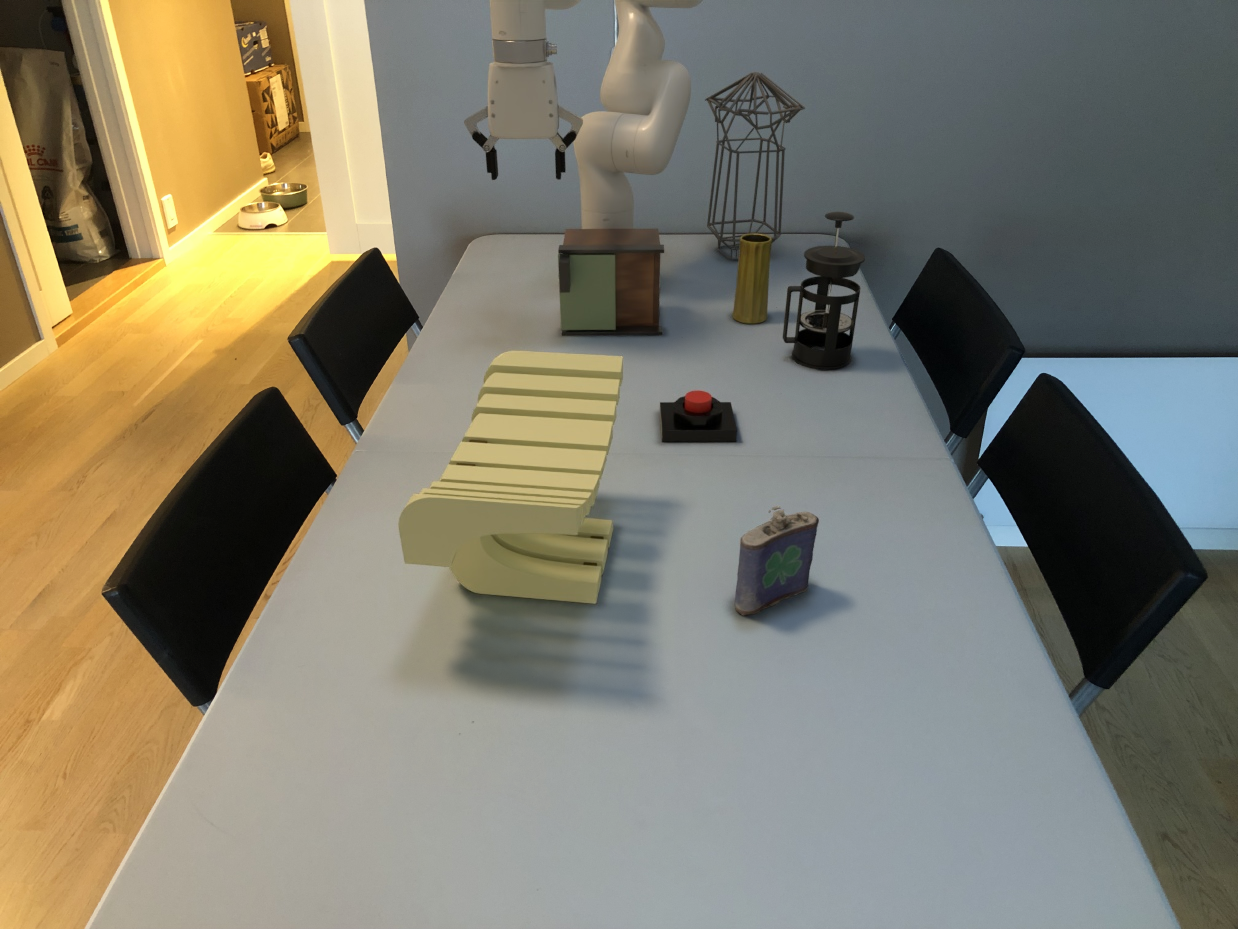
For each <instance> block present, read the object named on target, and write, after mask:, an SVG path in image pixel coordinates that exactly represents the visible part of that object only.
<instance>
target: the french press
mask: <svg viewBox="0 0 1238 929" xmlns="http://www.w3.org/2000/svg"><path fill="white" fill-rule="evenodd" d="M824 217H825V218H826V219H827V220H830V221H835V222H834V224H835V225H834V228H835V229H836V231H835V239H834V245H819V246H818V245H817V246H813V247H809V248H807V249H806V250H805V251H804V252H803V257H804V259H806V261H805V269H806V271H807V272H809V273H810V274H813V275H816V276H812V277H808V278H805V279H803V280H802V281H801V282H800V285H789V286H788V287H787V290H786V299H785V309H784V319H783V329H782V340H783V342H784V343H785V344H793V349H792V350H791V358H792V360H793V361H794V362H795V363H796V364H798V365H800V366H802V367H805V368H809V369H812V370H817V371H836V370H840V369H844V368H847V367H848V366H849V365H850V364H851V363H852V359H853V357H852V348H853V342H854V336H855V328H856V322H857V316H858V308H859V302H860V296H861V295H860V294H861V289H862V288H861V285H860V284H858V283H857V282H855V281H853V280H852V279H848V278H851V277H854V276H856V275H857V274H858V272H859V270H860V269H861V265H862V264H863V263H864V262H865V260H866V255H865V254H864V253H863V252H861V251H860V250H857V249H855V248H852V247H847V246H841V245H838V241H839V232H840V229H842V226H843V225H842V224H843V222H849V221H852V220H854V219H855V216H854V215H853V214H851V213H849V212H844V211H830V212H827V213H826V214H825V215H824ZM813 286H817V288H816V293H814V292H811V291H809V290H807V289H806V288H808V287H813ZM832 286H838V287H843V288H845V289H846V288H847V289H849V290H851V291H853V292H854V293H852V294H846V295H840V296H839V295H835V296H834V295H833V296H832ZM793 292H794V293H799V295H798V306H797V314H796V324H795V332H794V336H788V328H789V322H790V321H789V319H790V312H791V300H792V293H793ZM804 299H805V300H807V301H808V302H812V303H815V304H814V305H815V306H814V310H809V311H806V312H803V300H804ZM848 304H849V305H850V304H853V306H852V313H851V317H850V316H849V315H847V314H845V313H843V312H842V306H845V305H848ZM802 312H803V313H802ZM801 327H802V328H803V329H801ZM848 331H849V334H848V333H847V332H848ZM821 348H823V349H821Z"/></svg>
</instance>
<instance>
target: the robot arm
mask: <svg viewBox="0 0 1238 929" xmlns="http://www.w3.org/2000/svg"><path fill="white" fill-rule="evenodd" d="M580 2H581V0H489V13H490V24H491V26H490V28H491V40H492V54H493V55H492V56H493V62H490V63H489V66H488V76H487V77H488V78H487V105H486V106H485V107H483V108H481V109H479V110H477V111H476V112H475V113H473V114H471V115H469V116H468V117H465V119H464V120H463V124H464V126H465V127H466V129H467V131H468V132H469V134H470V136H471V138H472V140H473V141H474V142H475V143H476V144H477V145H478V146H479V147H481V149H482V150H483V152H484V153H485V162H486V164H485V165H486V173H487V174H490V176H491V181H496V180H497V179H498V177H499V164H498V163H499V162H498V151H497V149H496V147H495V146H496V144H497V142H498V141H499V139H501V140H546V139H549V141H551V143H552V144H553V145H554V146H555V150H554V164H555V165H554V166H555V167H554V168H555V179H556V180H558V181H560V180H561V179H562V173H566V171H567V170H566V151H567V149H568V148H569V147H570V146H571V145H572V143H573V149H574V155H575V159H576V164H577V170H578V176H579V189H580V214H581V216H580V217H581V229H634V207H635V206H634V202H635V201H634V192H633V189H632V186H631V183H630V180H629V179H628V177H627V175H626V173H627V174H635V175H647V176H648V175H649V176H654V175H655V176H656V175H659V174H661V173H662V172H664V171H665V170H666V168H667V167H668V165H669V163H670V161H671V159H672V157H673V153H674V151H675V148H676V145H677V142H678V139H679V136H680V133H681V130H682V127H683V124H684V122H685V120H686V115H687V113H688V110H689V106H690V102H691V95H692V80H691V75H690V73H689V71H688V69H687V67H686V66H685V65H684V64H682V63H681V62H680V61H679V62H678V61H677V60H670V59H662V58H663V54H664V51H665V47H666V41H665V40H666V39H665V37H664V34H663V31H662V29H661V27H660V26H659V24H658V22H657V20H655V18H654V16H653V15H652V13H651V9H650V8H659V9H693V8H695V7H697V6H698V5H700V4H701V3H702V2H703V0H614V4H615V10H616V16H617V22H618V35H617V39H616V42H615V45H614V47H613V50H612V53H611V56H610V59H609V60H608V64H607V67H606V70H605V73H604V76H603V79H602V82H601V85H600V90H599V91H600V92H599V98H600V103H601V104H602V106H603V108H604V109H605V110H606V111H605V110H604V111H602V110H600V111H592V112H589V113H586V114H584V115H583V116H580V115H577V114H576V113H574V112H572V111H570V110H568V109H566V108H565V107H562V106H561V105H559V98H558V96H559V95H558V86H557V79H556V78H557V77H556V73H555V69H554V68H555V67H554V65H553V62H551V61H548V58H549V57H550V56H552V55H558V44H557V43H552V42H550V41H548V40H547V26H546V25H547V24H546V22H547V21H546V10H558V11H559V10H560V11H561V10H562V11H563V10H568V9H571V8H573V7H575V6H576V5H578V4H579V3H580ZM485 119H488V120H487V122H488V123H487V124H488V131H489V134H490V135H488V137H486V136H485V135H484V134H483V133H482V132H481V131H480V129H479V128H478V125H477V124H478V123H480V122H482V121H483V120H485ZM560 119H562V120H564V121H566V122H568V123H570V124H571V127H570V129H569V131H568V132H567V133H566V134H565V135H564V136H562V134H560V132H559V131H558V130H559V128H560Z"/></svg>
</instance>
